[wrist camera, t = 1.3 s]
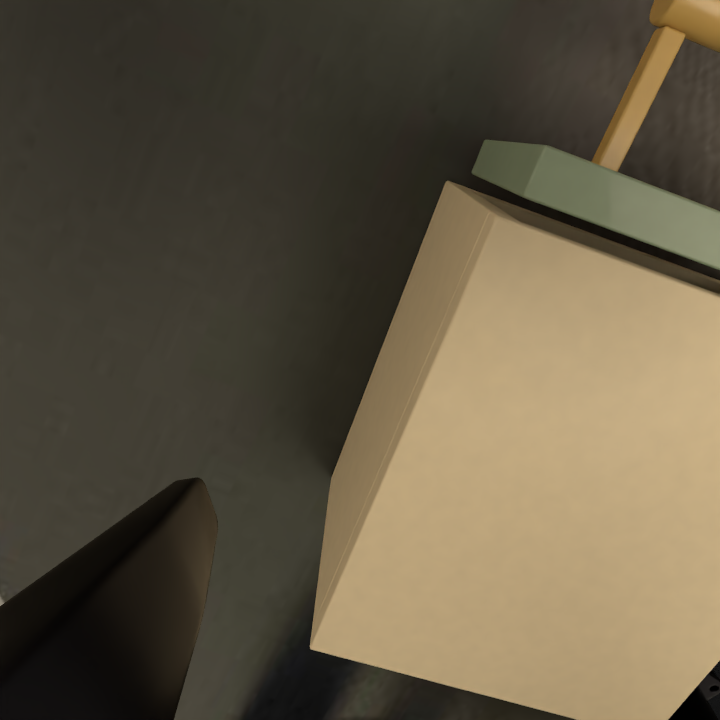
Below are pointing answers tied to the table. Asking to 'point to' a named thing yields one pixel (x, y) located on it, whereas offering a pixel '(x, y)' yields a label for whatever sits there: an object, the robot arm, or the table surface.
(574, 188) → the green drawer
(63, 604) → the robot arm
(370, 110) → the table surface
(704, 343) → the small drawer cabinet
